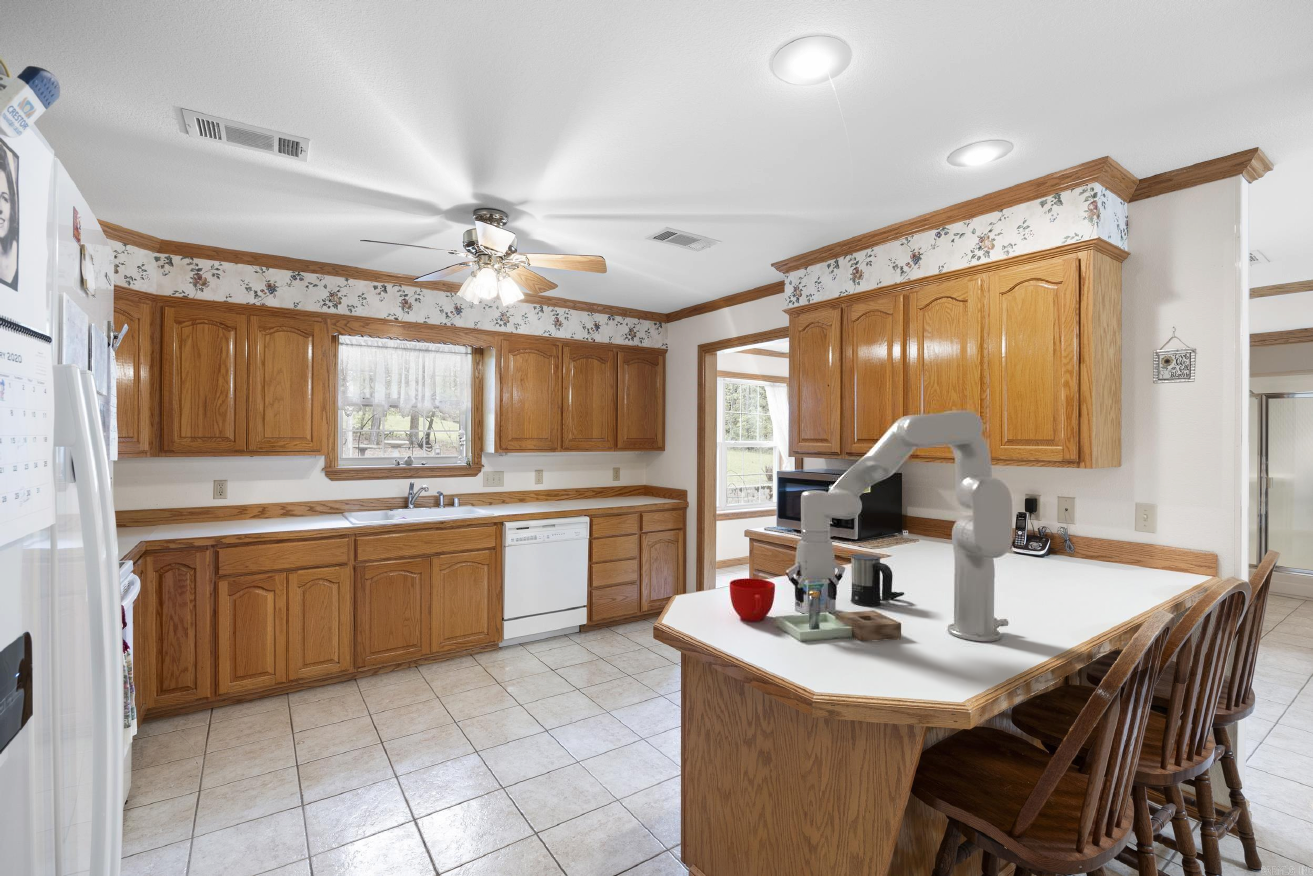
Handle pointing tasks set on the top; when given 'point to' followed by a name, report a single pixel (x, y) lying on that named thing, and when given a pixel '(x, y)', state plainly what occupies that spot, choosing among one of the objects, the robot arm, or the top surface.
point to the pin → (814, 610)
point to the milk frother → (870, 580)
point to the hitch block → (870, 625)
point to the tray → (801, 631)
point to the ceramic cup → (752, 598)
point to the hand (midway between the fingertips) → (815, 600)
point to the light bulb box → (825, 601)
